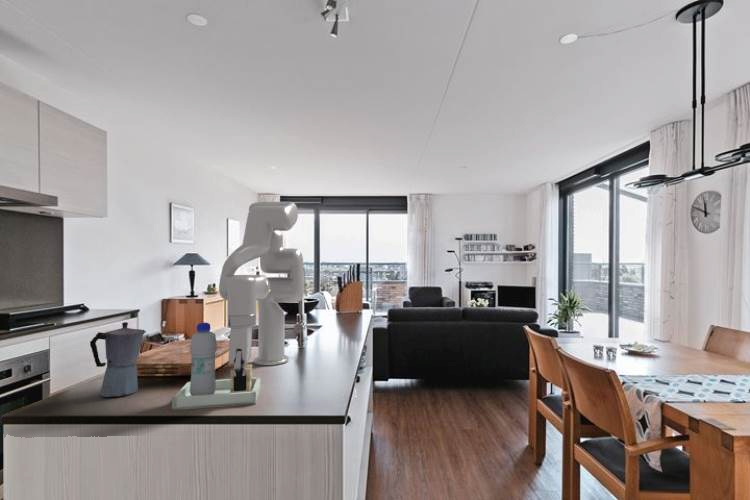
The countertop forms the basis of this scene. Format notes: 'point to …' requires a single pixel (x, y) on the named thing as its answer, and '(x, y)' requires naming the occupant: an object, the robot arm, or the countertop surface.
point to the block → (248, 379)
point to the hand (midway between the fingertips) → (241, 386)
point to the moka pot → (119, 360)
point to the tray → (216, 396)
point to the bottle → (203, 361)
